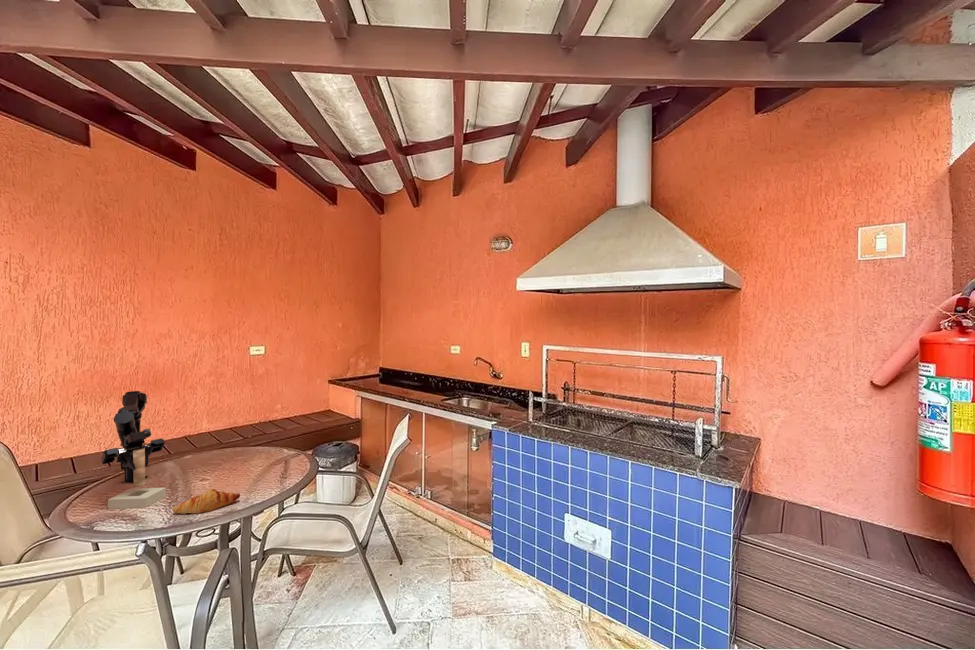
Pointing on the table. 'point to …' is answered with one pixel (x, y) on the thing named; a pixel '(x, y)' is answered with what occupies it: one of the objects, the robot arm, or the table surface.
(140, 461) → the peg
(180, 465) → the table surface
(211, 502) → the croissant
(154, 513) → the table surface
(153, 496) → the socket block
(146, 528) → the table surface
